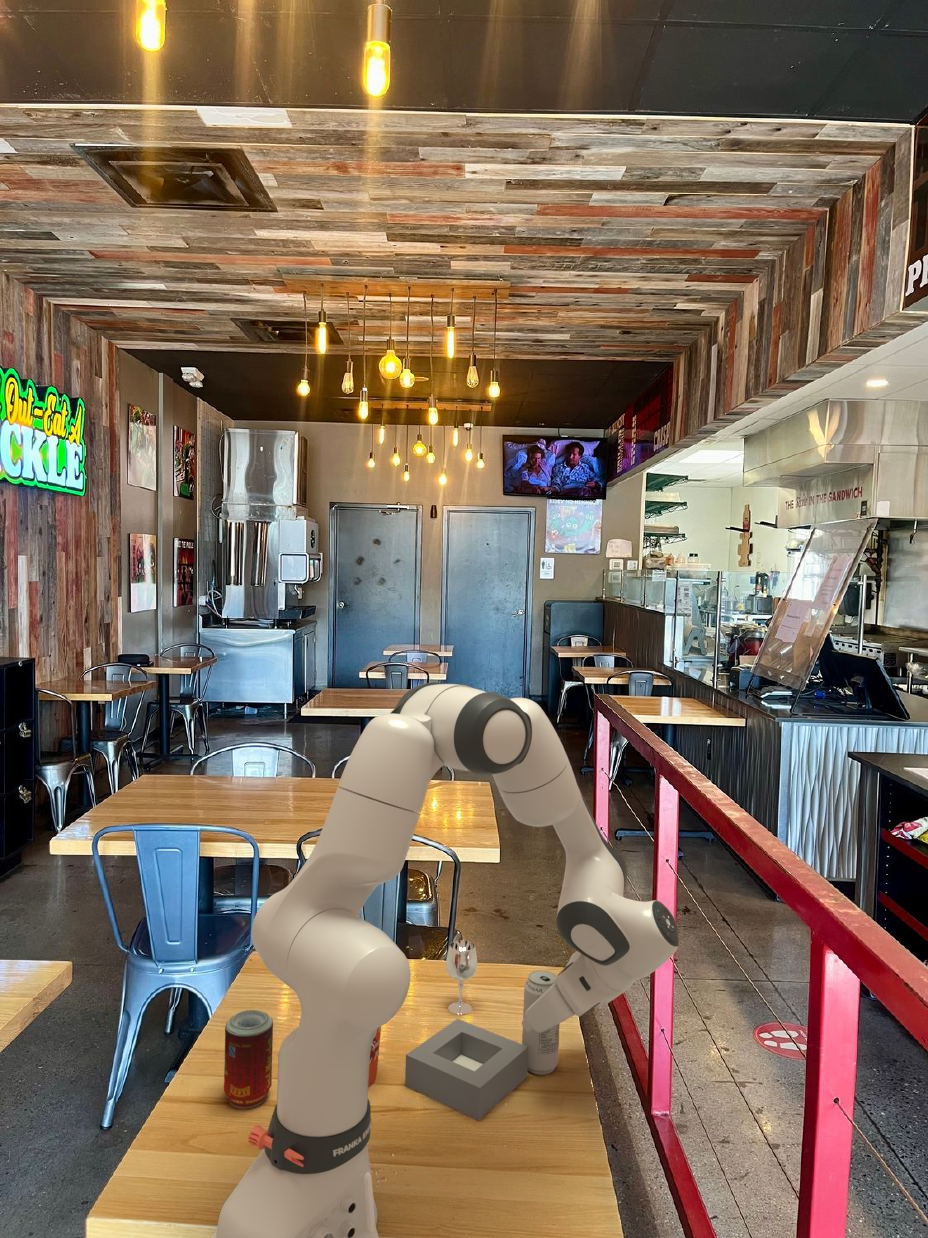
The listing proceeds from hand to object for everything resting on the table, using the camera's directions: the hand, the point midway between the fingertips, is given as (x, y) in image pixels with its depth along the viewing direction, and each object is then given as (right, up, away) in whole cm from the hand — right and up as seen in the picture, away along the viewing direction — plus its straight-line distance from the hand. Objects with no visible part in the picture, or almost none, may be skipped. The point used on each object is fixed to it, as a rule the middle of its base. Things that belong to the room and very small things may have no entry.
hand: (540, 1014), depth 139 cm
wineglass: (-13, -8, +18) cm, 24 cm away
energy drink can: (0, -9, 0) cm, 9 cm away
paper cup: (-29, -8, -5) cm, 31 cm away
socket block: (-12, -8, -5) cm, 16 cm away
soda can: (-46, -8, -11) cm, 47 cm away
